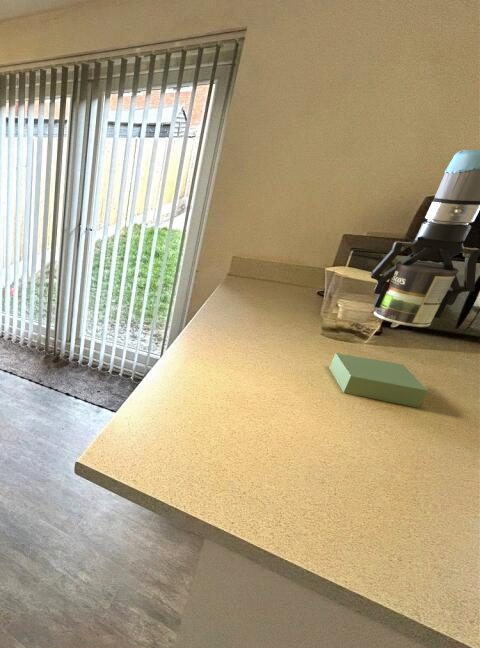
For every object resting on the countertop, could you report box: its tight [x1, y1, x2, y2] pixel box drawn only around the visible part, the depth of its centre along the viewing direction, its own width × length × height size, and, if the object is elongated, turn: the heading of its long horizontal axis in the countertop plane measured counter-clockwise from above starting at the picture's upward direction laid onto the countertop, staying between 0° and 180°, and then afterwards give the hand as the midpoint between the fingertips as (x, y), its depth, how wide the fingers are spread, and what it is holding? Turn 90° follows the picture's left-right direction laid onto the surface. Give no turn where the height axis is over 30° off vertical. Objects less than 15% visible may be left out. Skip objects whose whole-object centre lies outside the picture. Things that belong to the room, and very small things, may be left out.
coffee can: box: [373, 260, 460, 328], centre depth 97 cm, size 10×10×14 cm
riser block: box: [328, 352, 428, 408], centre depth 103 cm, size 14×14×5 cm
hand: (404, 310), depth 99 cm, fingers closed on coffee can, 10 cm apart
